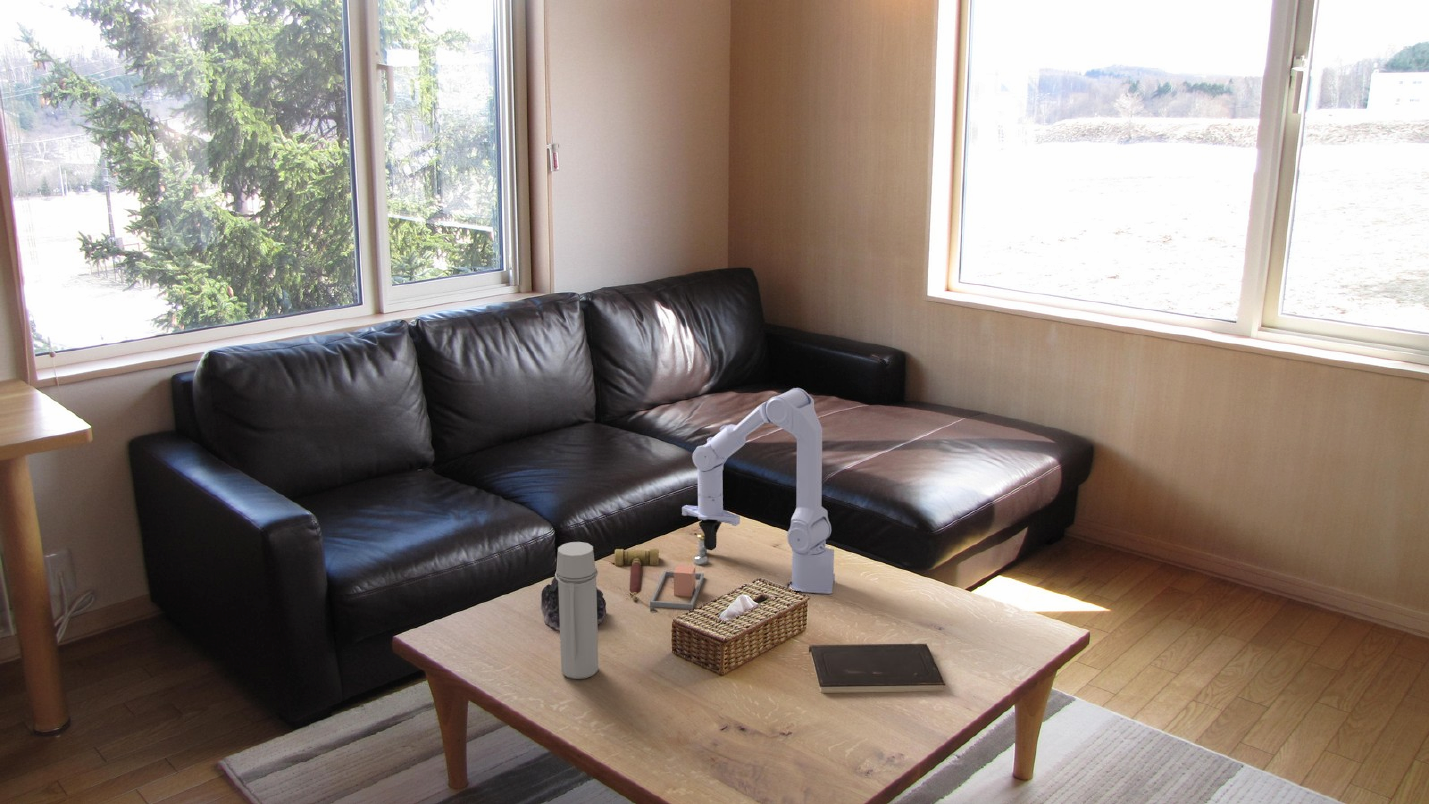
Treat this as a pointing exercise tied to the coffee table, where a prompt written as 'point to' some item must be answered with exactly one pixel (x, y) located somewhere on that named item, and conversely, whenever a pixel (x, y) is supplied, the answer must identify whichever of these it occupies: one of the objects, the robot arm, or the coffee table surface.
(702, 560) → the crank
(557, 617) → the crystal cluster
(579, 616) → the water bottle
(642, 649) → the coffee table surface
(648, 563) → the gavel
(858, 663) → the hardcover book
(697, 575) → the rectangular frame
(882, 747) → the coffee table surface
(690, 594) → the block
